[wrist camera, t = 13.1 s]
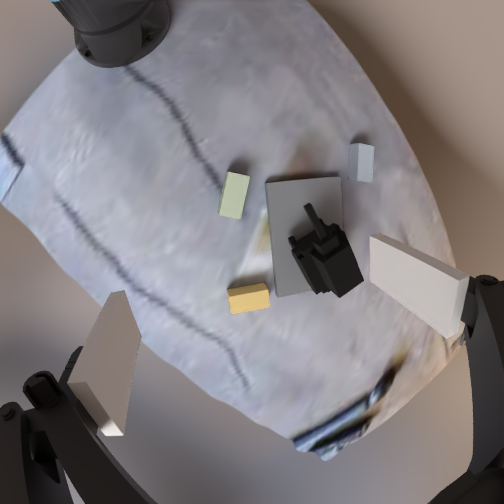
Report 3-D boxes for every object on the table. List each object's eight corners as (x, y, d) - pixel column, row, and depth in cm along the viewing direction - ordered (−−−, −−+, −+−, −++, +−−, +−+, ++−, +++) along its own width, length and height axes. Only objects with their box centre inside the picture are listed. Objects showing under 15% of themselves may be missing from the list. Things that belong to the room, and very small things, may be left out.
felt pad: (264, 183, 41) (266, 183, 40) (337, 176, 43) (340, 176, 42) (275, 294, 47) (277, 297, 45) (340, 280, 48) (343, 282, 47)
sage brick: (226, 171, 40) (228, 171, 37) (246, 176, 41) (250, 176, 38) (217, 212, 41) (219, 215, 38) (237, 215, 42) (240, 219, 39)
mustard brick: (229, 305, 46) (231, 314, 43) (226, 288, 45) (228, 296, 42) (265, 298, 47) (269, 306, 44) (263, 282, 46) (268, 289, 43)
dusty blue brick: (349, 144, 42) (359, 143, 39) (364, 147, 43) (374, 146, 40) (347, 179, 44) (356, 180, 41) (362, 181, 44) (372, 182, 42)
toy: (307, 186, 41) (339, 191, 32) (343, 261, 46) (376, 282, 37) (265, 211, 41) (286, 224, 32) (306, 286, 46) (333, 313, 37)
